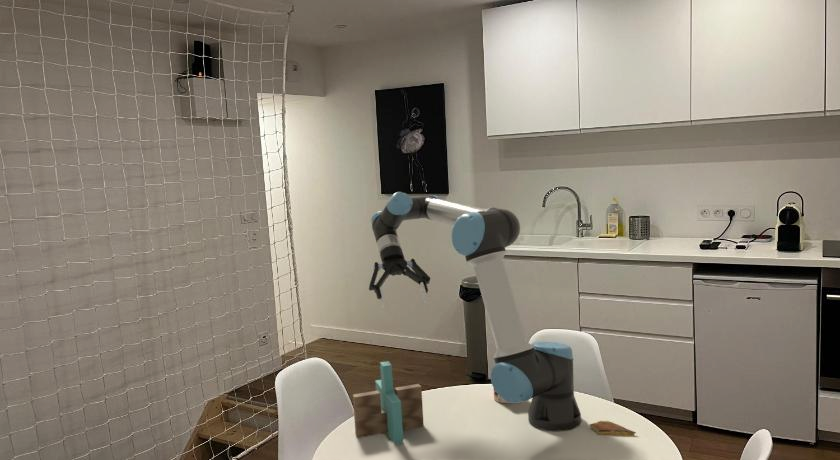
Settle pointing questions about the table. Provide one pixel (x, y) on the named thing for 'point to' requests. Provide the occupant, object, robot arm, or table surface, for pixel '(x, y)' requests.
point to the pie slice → (610, 429)
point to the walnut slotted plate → (375, 419)
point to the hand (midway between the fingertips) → (405, 303)
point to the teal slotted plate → (390, 403)
